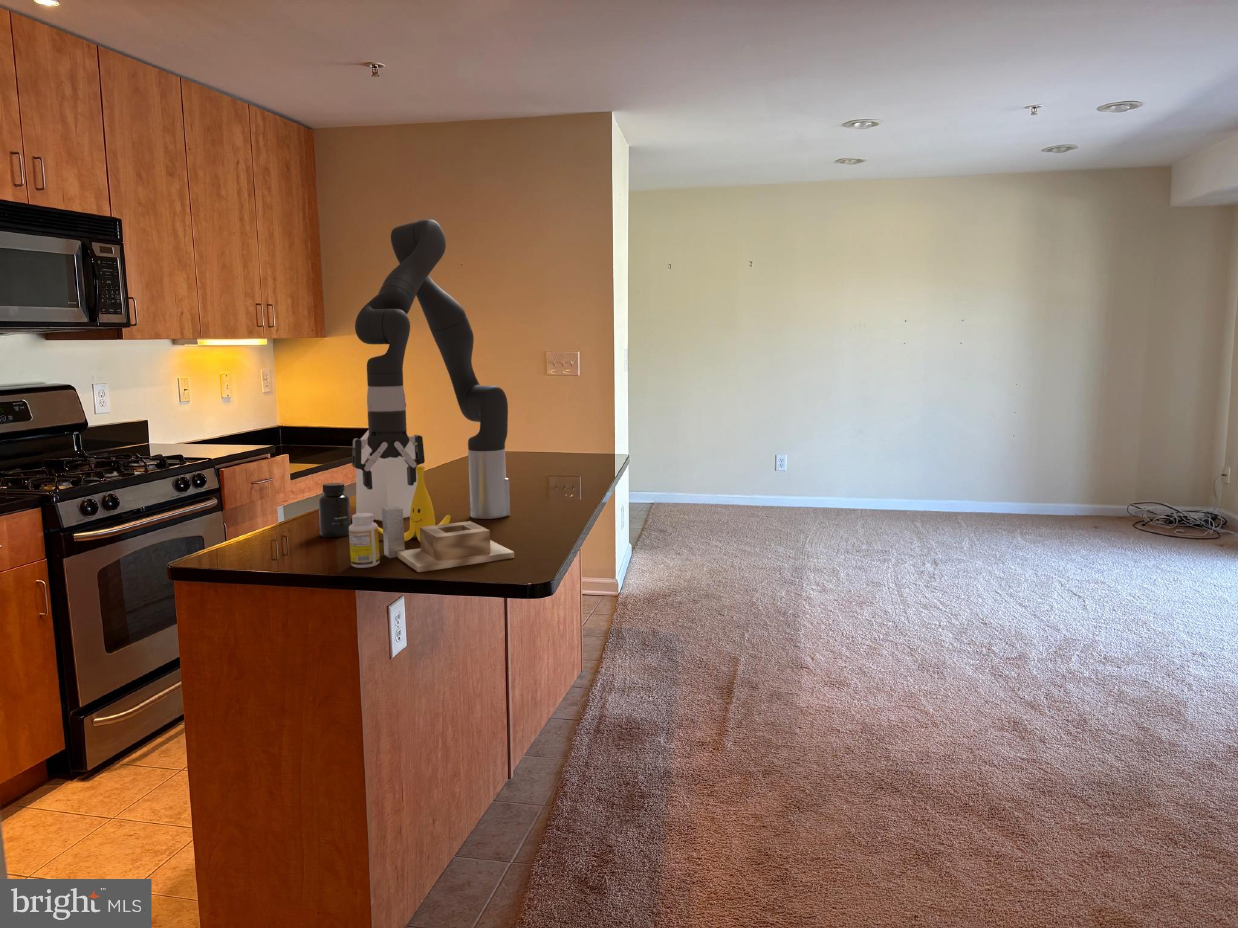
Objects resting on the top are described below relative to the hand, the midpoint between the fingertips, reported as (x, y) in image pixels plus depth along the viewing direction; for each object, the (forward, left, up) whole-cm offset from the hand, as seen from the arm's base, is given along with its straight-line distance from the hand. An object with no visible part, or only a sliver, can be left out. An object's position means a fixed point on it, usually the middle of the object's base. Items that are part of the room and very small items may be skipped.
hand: (390, 487), depth 171 cm
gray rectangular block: (0, 0, -14) cm, 14 cm away
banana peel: (-12, -14, -15) cm, 24 cm away
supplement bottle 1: (+6, -27, -15) cm, 31 cm away
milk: (-11, -43, -15) cm, 47 cm away
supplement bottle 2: (+7, +5, -15) cm, 17 cm away
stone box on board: (-10, +9, -14) cm, 20 cm away
